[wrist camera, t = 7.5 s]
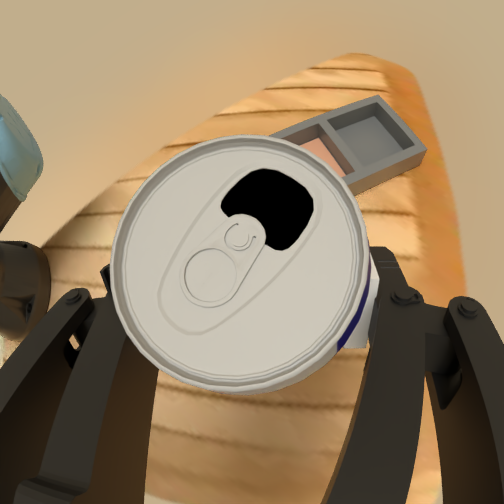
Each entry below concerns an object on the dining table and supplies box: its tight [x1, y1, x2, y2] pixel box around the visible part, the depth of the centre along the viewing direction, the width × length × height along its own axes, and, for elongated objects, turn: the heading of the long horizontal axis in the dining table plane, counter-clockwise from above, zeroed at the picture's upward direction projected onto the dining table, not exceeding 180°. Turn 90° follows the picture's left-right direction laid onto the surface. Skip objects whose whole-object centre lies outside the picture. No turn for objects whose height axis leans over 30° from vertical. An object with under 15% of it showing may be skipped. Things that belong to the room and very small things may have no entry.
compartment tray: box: [269, 95, 427, 196], centre depth 29 cm, size 25×9×3 cm, turn 114°
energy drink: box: [110, 134, 371, 395], centre depth 11 cm, size 5×5×12 cm
